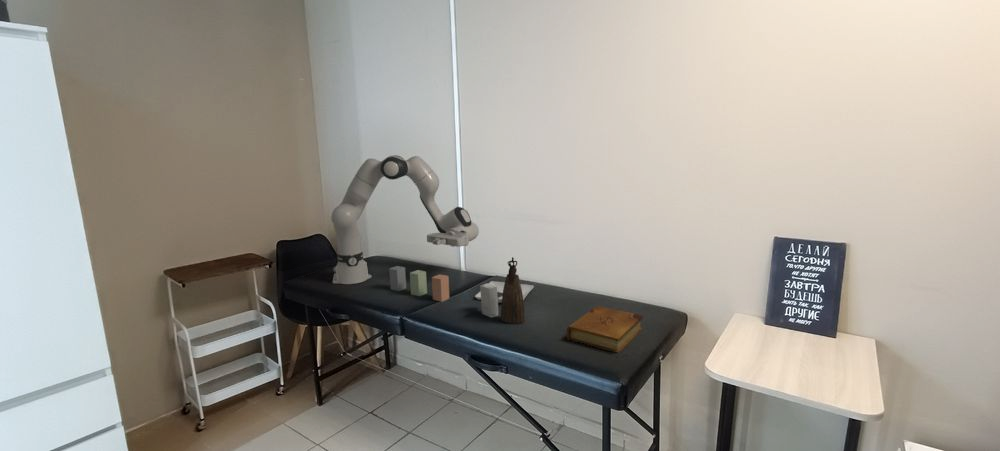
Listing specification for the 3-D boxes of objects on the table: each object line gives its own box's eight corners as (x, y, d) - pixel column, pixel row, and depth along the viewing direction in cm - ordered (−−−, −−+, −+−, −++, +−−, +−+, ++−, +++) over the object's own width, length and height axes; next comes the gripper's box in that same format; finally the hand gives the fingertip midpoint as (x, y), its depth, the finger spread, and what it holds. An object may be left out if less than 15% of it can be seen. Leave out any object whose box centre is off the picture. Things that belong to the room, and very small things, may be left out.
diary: (594, 319, 180) (595, 305, 179) (642, 330, 169) (643, 315, 168) (566, 340, 162) (566, 325, 161) (618, 354, 151) (618, 338, 150)
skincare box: (499, 315, 185) (498, 286, 182) (490, 318, 182) (489, 288, 180) (489, 311, 189) (488, 282, 187) (480, 313, 187) (479, 284, 184)
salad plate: (521, 308, 192) (521, 300, 192) (474, 303, 199) (473, 295, 198) (534, 291, 212) (534, 284, 211) (491, 287, 219) (490, 280, 218)
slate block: (398, 286, 219) (397, 265, 217) (406, 288, 216) (404, 267, 214) (390, 289, 215) (389, 268, 213) (398, 291, 212) (396, 270, 210)
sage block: (418, 291, 211) (417, 270, 209) (427, 293, 209) (425, 271, 207) (411, 294, 207) (409, 272, 205) (419, 296, 205) (418, 274, 203)
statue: (521, 315, 184) (520, 255, 178) (526, 323, 177) (525, 261, 170) (499, 318, 182) (498, 257, 176) (504, 326, 175) (502, 263, 169)
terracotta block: (440, 296, 204) (439, 274, 202) (449, 298, 201) (448, 276, 199) (432, 299, 200) (431, 277, 198) (441, 301, 197) (440, 279, 195)
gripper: (437, 228, 230) (418, 233, 219) (470, 232, 219) (451, 238, 208) (438, 241, 231) (418, 246, 220) (471, 245, 220) (452, 252, 209)
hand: (435, 242), depth 214 cm, fingers closed
